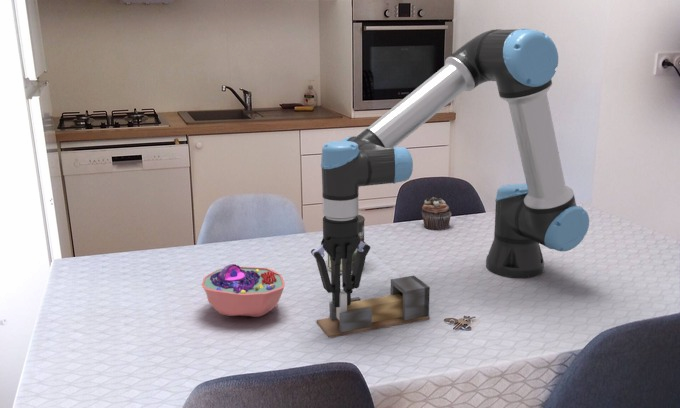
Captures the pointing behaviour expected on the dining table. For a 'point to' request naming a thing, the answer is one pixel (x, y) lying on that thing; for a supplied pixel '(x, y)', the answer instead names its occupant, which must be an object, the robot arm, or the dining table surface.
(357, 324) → the cap board
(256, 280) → the cell model
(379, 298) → the brass rectangular bar
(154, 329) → the dining table surface
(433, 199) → the cupcake
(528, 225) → the robot arm
